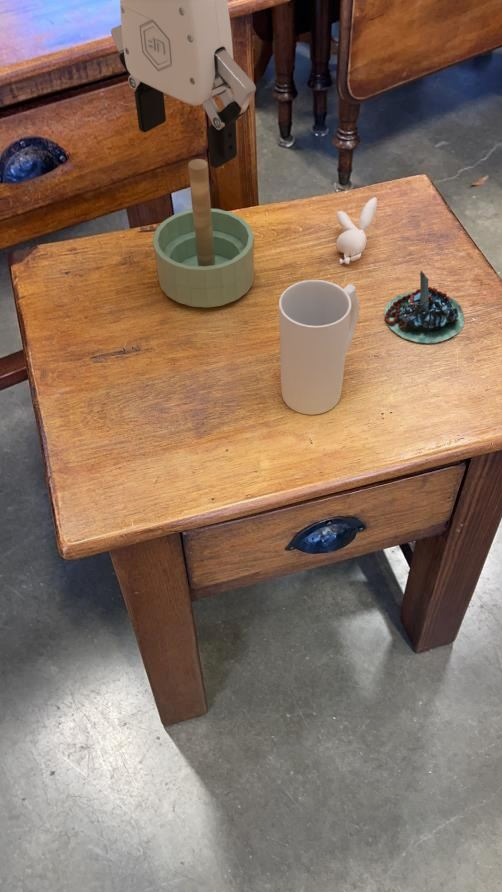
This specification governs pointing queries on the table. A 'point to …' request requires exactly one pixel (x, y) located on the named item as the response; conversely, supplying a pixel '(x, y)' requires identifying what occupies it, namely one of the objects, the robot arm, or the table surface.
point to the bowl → (207, 282)
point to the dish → (424, 314)
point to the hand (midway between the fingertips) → (187, 143)
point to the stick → (202, 211)
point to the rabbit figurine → (355, 232)
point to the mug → (315, 343)
